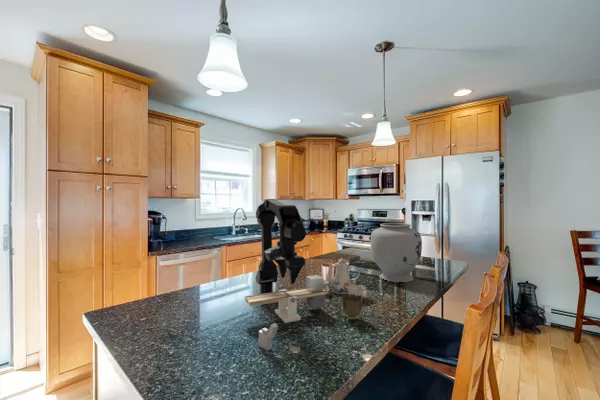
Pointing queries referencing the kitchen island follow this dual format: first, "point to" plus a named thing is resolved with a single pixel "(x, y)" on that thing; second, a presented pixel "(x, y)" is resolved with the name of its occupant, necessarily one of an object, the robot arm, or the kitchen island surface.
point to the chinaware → (343, 280)
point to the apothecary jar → (396, 250)
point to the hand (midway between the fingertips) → (287, 280)
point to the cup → (352, 305)
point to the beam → (313, 298)
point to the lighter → (267, 336)
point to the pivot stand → (288, 309)
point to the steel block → (314, 283)
